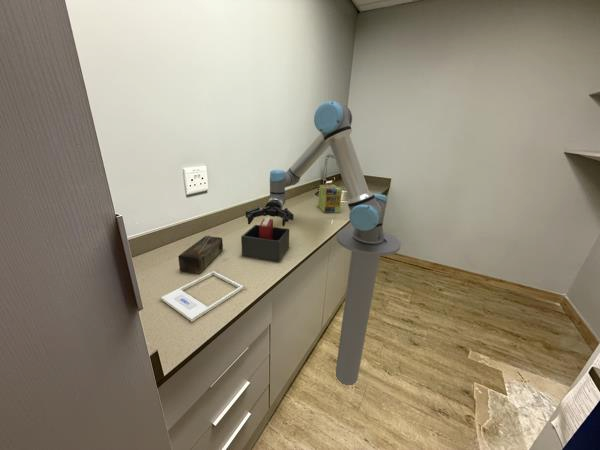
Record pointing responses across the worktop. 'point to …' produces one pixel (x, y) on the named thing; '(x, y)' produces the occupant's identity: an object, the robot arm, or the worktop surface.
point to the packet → (266, 229)
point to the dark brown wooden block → (200, 254)
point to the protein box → (329, 198)
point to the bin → (265, 244)
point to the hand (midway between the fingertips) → (265, 222)
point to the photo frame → (192, 306)
